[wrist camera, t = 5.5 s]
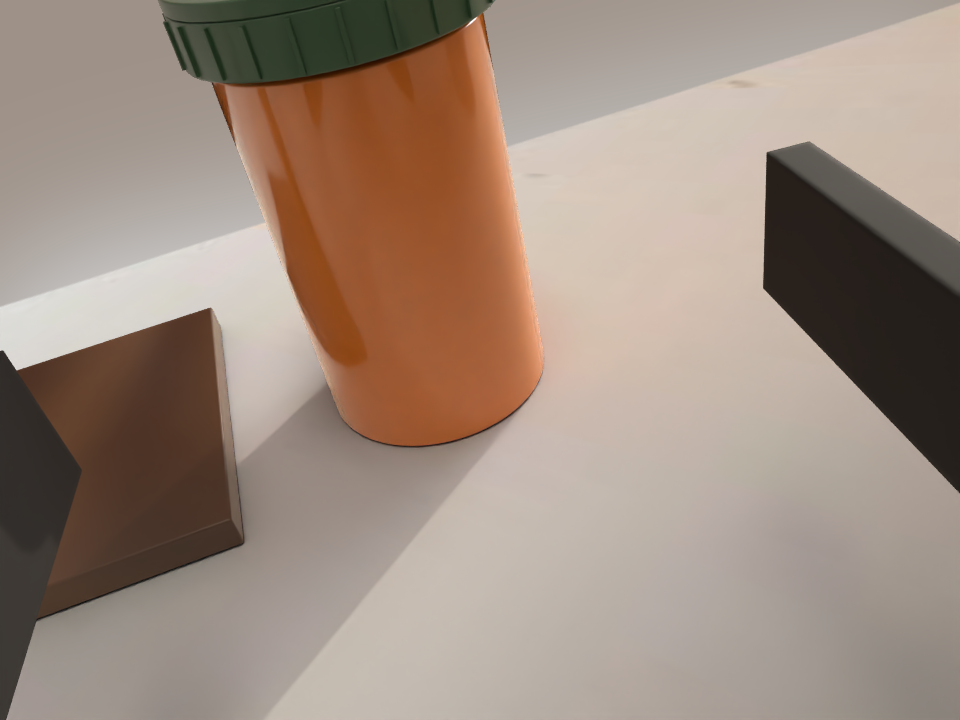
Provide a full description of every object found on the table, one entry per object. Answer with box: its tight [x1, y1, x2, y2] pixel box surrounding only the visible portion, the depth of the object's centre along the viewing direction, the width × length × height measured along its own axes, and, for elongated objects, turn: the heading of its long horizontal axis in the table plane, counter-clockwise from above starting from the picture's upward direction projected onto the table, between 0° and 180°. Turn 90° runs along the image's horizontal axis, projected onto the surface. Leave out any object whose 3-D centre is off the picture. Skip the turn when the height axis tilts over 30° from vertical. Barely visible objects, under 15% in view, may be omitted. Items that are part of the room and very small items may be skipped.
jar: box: [211, 13, 544, 446], centre depth 23 cm, size 7×7×12 cm
